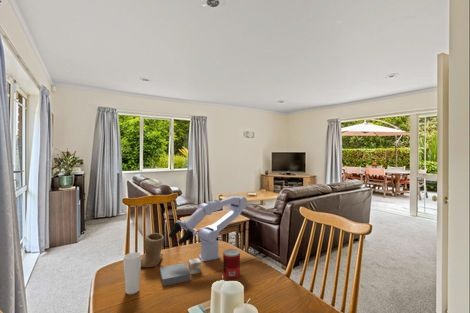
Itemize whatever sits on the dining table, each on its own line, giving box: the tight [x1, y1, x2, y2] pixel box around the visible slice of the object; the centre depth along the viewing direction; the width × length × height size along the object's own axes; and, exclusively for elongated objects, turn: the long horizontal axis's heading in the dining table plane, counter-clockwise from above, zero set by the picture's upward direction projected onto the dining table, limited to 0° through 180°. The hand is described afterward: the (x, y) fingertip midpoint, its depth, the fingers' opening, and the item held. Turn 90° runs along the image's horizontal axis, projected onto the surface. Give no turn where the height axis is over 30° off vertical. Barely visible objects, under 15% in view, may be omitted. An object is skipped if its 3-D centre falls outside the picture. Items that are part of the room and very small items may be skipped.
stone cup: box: [141, 232, 165, 268], centre depth 126 cm, size 15×12×15 cm
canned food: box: [222, 248, 241, 280], centre depth 112 cm, size 8×8×11 cm
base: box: [159, 262, 191, 287], centre depth 111 cm, size 12×12×3 cm
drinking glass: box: [123, 251, 142, 295], centre depth 99 cm, size 7×7×15 cm
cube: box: [188, 257, 202, 275], centre depth 117 cm, size 5×5×5 cm
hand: (174, 239), depth 118 cm, fingers open, 7 cm apart
